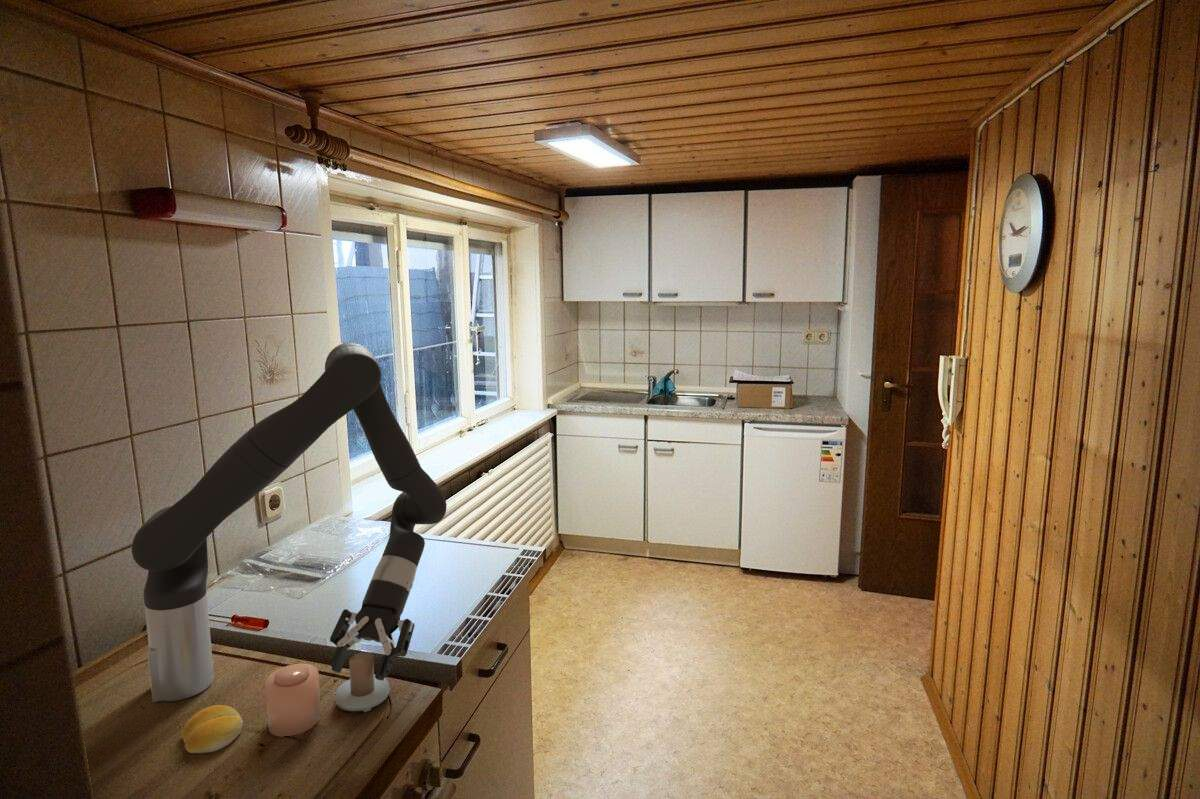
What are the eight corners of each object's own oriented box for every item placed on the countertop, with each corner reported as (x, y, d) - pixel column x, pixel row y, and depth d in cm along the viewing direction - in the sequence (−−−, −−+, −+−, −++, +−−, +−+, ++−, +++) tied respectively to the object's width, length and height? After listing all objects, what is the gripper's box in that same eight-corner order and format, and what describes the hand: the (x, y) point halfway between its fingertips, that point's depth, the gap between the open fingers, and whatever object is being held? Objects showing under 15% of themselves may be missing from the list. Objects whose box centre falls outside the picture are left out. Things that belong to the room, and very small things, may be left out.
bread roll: (189, 764, 97) (186, 741, 97) (180, 732, 104) (177, 710, 103) (249, 740, 103) (247, 718, 102) (236, 712, 109) (235, 691, 109)
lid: (340, 722, 107) (338, 679, 106) (331, 693, 115) (329, 653, 113) (395, 705, 112) (393, 664, 110) (382, 679, 119) (381, 639, 118)
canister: (270, 743, 102) (267, 693, 100) (266, 714, 109) (262, 667, 107) (324, 726, 106) (321, 678, 105) (316, 700, 113) (314, 654, 111)
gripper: (348, 573, 119) (310, 663, 109) (417, 583, 115) (384, 676, 106) (365, 587, 125) (331, 674, 115) (432, 597, 121) (402, 687, 112)
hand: (357, 675), depth 111 cm, fingers open, 8 cm apart
